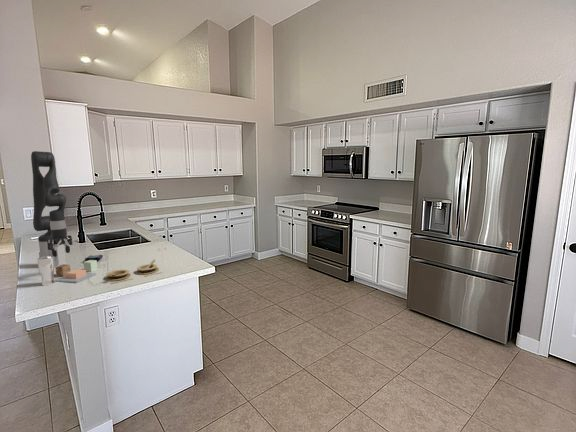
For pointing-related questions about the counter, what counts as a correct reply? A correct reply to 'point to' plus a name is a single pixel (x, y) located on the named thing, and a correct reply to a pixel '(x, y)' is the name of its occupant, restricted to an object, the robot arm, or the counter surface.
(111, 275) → the tableware set
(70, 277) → the plate
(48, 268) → the beer glass
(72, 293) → the counter surface
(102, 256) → the purple clover wallet
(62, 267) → the block
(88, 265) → the block
